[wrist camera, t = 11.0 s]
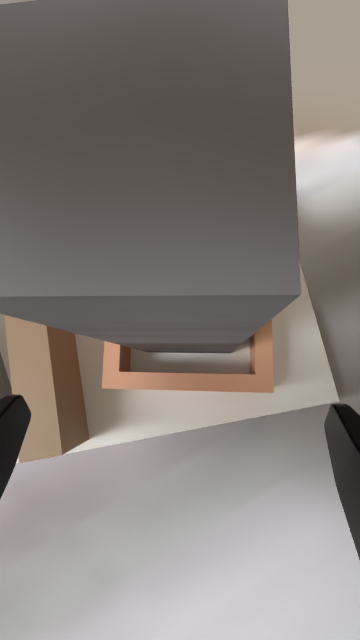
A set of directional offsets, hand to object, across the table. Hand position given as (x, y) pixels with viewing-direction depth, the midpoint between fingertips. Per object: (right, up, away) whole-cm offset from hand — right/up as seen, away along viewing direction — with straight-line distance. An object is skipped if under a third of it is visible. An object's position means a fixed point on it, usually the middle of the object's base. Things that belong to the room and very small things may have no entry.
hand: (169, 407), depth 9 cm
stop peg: (+1, +3, +8) cm, 8 cm away
